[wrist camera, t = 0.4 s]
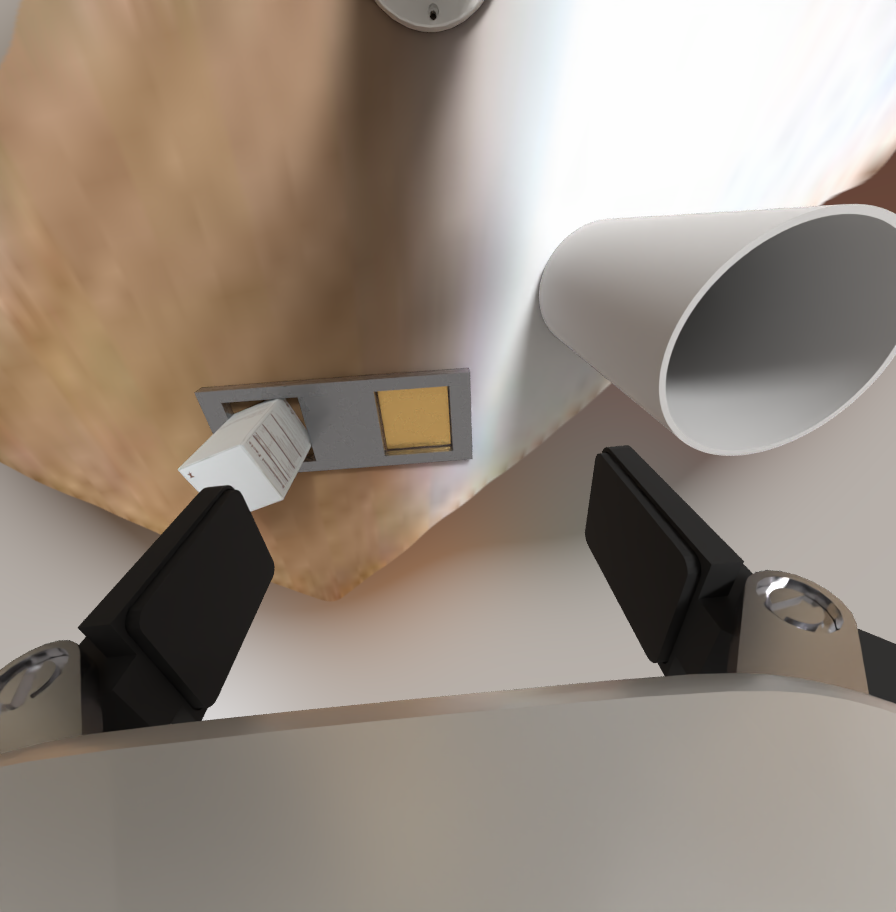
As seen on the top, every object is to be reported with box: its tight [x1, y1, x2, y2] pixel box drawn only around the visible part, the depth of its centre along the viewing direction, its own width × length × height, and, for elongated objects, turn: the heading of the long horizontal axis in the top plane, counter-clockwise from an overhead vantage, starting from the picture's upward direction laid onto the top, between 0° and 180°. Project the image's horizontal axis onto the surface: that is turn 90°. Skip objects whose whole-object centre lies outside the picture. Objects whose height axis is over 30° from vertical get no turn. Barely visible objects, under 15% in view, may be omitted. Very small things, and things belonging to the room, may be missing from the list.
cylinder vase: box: [539, 204, 896, 456], centre depth 29 cm, size 12×12×25 cm
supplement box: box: [178, 398, 312, 512], centre depth 42 cm, size 7×7×13 cm
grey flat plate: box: [195, 368, 472, 472], centre depth 46 cm, size 12×32×2 cm, turn 93°
